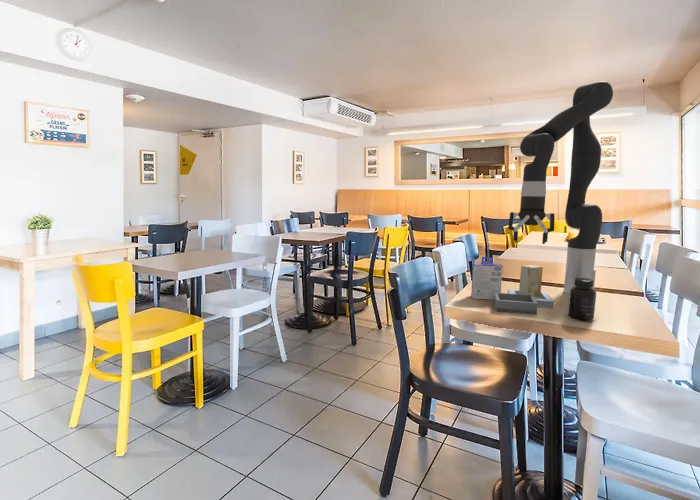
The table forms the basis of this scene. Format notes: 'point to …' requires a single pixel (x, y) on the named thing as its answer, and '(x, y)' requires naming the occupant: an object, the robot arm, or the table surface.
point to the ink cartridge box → (486, 279)
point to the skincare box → (531, 280)
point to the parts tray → (515, 303)
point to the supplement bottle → (582, 300)
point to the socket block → (544, 301)
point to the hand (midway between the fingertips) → (529, 243)
